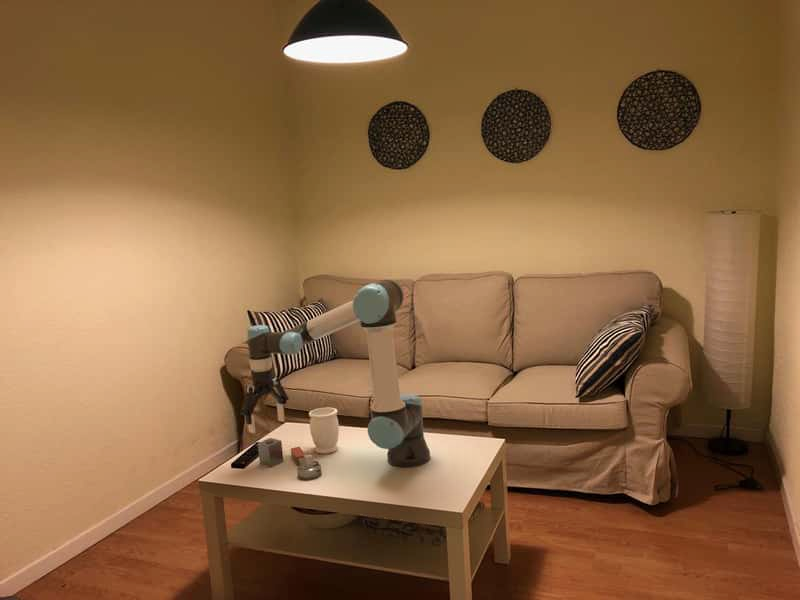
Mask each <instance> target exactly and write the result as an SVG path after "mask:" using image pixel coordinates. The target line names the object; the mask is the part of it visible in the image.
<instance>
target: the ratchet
mask: <svg viewBox="0 0 800 600" xmlns="http://www.w3.org/2000/svg"><path fill="white" fill-rule="evenodd" d="M290 453H291V457H292V459H293V460H294V462H295V463H296V465H298V467H297V477H298V479H299V480H301V481H306V482H307V481H313V480H317V479H319V478H320V477H322V475H323V474H322V472H323V471H322V465H321V464H320V463H319V461H318V460H314V459H313V455H312V454H305V451H303V449H302V447H301V446H296V447H291V448H290Z"/></svg>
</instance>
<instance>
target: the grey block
mask: <svg viewBox="0 0 800 600" xmlns="http://www.w3.org/2000/svg"><path fill="white" fill-rule="evenodd" d="M257 449H258V450H257V451H258V460H259V464H260V465H261V466H265V467H268V468H273V467H275V466H277V465H279V464H282V463H284V453H283V452H284V451H283V444H282V440H281V439H278V438H272V437H269V438H266V439H264V440H262V441H260V442H257Z"/></svg>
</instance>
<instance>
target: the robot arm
mask: <svg viewBox="0 0 800 600" xmlns="http://www.w3.org/2000/svg"><path fill="white" fill-rule="evenodd" d="M404 298H405V295H404V290H403V289H402V286H400V285H399V283H397V282H396V281H394V280H391V279H382V280H381V279H380V280H379V281H376V282H373V283H369V284H366V285H365V286H362V288H360V289H359V290H358V291H357V292H356V294H355V295H354V297H353V300H350V301H348V302H347V303H343V304H342V305H339V306H338V307H335V308H333V309H331V310H329V311H327V312H324V313H322V314H320V315H317V316H315V317H314V318H311V319H310V320H307V321H305V322H303V323H300V324H298V325H296V326H294V327H291V328H289V329H285V330H284V331H277V332H276V331H270V328H269V325H265V324H258V325H252V326H249V327H248V328H247V330H246V331H247V345H248V352H249V365H250V369H251V370H250V377H251V381H252V385H251V386H245V394H244V398H243V402H242V404H241V408H240V413H239V414H240V415H241V416H242V415H243V416H245V421H246V424H247V427H248V433H252V434H256V426H255V423H256V422H255V415H254V414H253V412H254V410H255V408H256V406H257V404H258V402H259V400H260V399H261V398H262V397H264V396H265V395H271V396H272V397H273V399H275V401H277V403H276V411H277V412H276V413H277V419H278V422H283V423H284V422H285V421H286V420H285V412H286V407H285V404H287V401H289V396H288V395H287V392H286V391H285V389H284V387H283V386H282V384H281V378H279V377H274V371H273V368H272V367H273V359H272V354H273V355H274V354H277V355H278V354H279V355H288V356H289V355H296V354H299V353H300V351H301V350H302V347H304V346H306V345H310V344H311V343H313V342H315V341H317V340H319V339H322V338H324V337H327V336H328V335H331V334H333V333H335V332H337V331H340V330H342V329H344V328H346V327H349V326H351V325H354V324H356V323H358V322H359V323H360V328H362V329H363V330H364V331H365V332H366V338H367V339H366V341H367V347H368V348H367V349H368V357H369V366H370V374H371V384H372V392H373V401H374V402H373V403H372V404H371V406H370V414H371V420H370V421H369V423H368V426H367V434H368V438H369V440H370V441H371V442H372V443H373V444H374V445H376V447H378V448H380V449H384V450H387V455H386V458H387V463H388V464H390V465H391V466H393V467H394V466H395V467H399V468H400V467H401V468H411V467H417V466H421V465H423V464H426V463H428V462H429V461H430V460H431V452H430V448H429V447H428V445H427V444H428V443H427V442H426V439H425V436H424V435H425V434H424V420H423V404H422V399H421V397H420V396H419V395H416V394H411V393H410V394H409V393H408V394H400V385H399V376H398V366H397V357H396V348H395V339H394V331H393V329H394V328H395V327H394V326H395V325H396V324H397V316H396V312H397V311H399V310H400V308H401V307H402V305H403V303H404V300H405V299H404ZM273 386H274V387H275V388H274V387H273Z"/></svg>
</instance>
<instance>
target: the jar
mask: <svg viewBox="0 0 800 600" xmlns="http://www.w3.org/2000/svg"><path fill="white" fill-rule="evenodd" d="M337 414H338V409H337V408H336V407H335V408H334V407H319V408H315V409H313V410H310V411H309V412H308V416H309V418H310V419H309V430H310V435H311V439H312V441H313V444H314V446H315V449H314V450H315V452H316V453H317V454H325V455H326V454H331V453H334V452H336V451H337V450H338V449H339V447H338V445H337V443H338V440H339V434H340V433H339V431H340V427H339V426H340V425H339V419H338V416H337Z"/></svg>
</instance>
